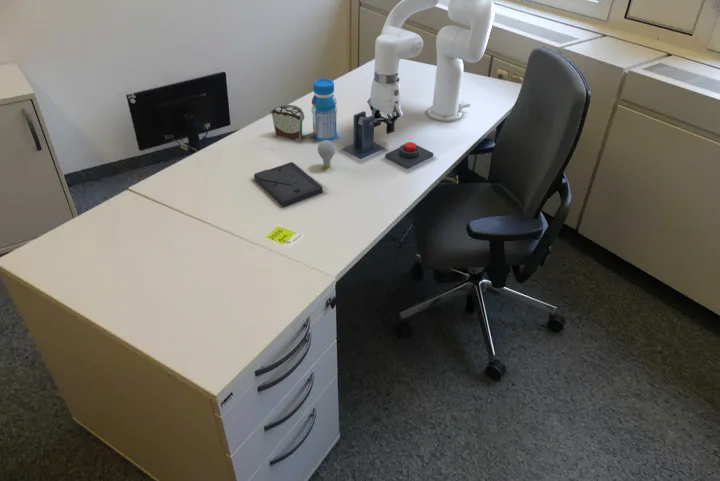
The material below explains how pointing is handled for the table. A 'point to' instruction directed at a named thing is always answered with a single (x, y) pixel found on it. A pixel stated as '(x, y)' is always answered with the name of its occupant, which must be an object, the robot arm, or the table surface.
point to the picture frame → (288, 184)
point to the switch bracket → (363, 138)
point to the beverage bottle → (324, 110)
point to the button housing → (409, 156)
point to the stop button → (410, 147)
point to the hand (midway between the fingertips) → (383, 128)
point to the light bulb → (326, 152)
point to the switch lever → (378, 119)
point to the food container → (287, 121)
